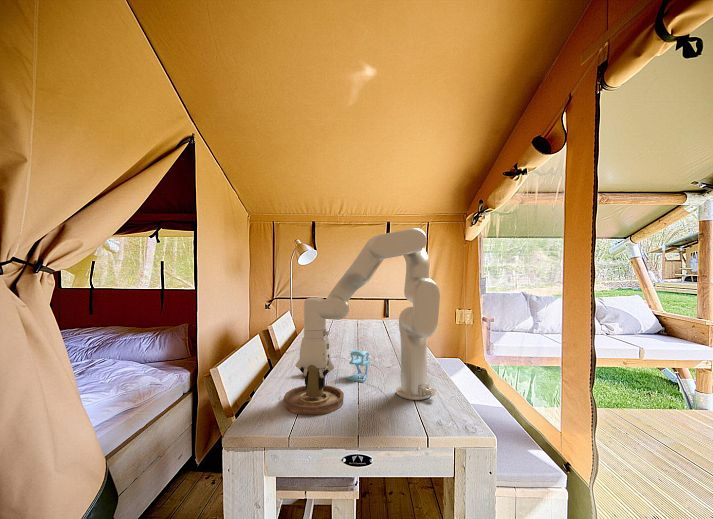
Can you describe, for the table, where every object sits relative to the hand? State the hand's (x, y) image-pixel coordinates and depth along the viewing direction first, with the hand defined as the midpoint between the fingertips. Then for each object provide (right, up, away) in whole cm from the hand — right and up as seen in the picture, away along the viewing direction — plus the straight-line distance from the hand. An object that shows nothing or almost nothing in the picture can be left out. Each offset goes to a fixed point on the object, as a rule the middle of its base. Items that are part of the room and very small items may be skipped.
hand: (314, 387), depth 114 cm
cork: (0, -2, 0) cm, 2 cm away
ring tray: (0, -5, 0) cm, 5 cm away
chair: (+16, -6, +25) cm, 30 cm away
